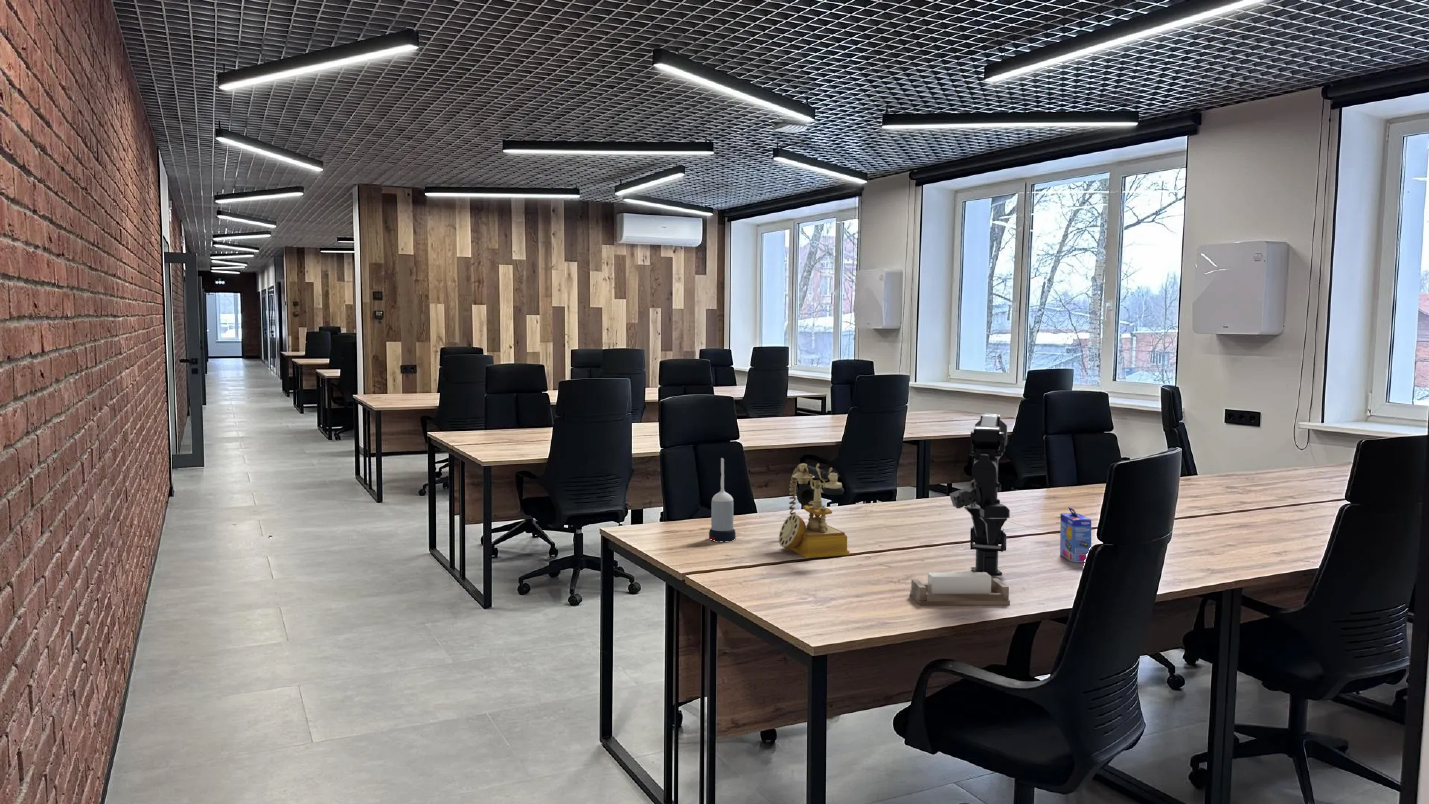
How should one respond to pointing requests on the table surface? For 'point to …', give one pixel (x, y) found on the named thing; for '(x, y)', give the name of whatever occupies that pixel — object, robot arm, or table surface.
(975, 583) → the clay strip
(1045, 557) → the table surface
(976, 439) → the robot arm
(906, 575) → the table surface
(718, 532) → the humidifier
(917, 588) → the tray
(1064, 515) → the ink cartridge box
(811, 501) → the rotary telephone
